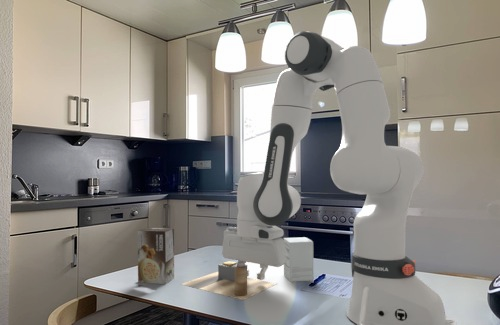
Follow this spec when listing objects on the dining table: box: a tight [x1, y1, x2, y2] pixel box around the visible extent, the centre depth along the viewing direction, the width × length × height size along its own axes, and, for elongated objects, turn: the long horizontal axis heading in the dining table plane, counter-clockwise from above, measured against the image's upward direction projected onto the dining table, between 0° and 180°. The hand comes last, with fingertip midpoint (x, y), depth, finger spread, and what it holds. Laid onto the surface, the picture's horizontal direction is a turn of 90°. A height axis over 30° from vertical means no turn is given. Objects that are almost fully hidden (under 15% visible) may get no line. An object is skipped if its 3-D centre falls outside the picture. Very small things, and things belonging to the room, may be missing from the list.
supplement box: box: [283, 236, 315, 283], centre depth 112 cm, size 7×7×13 cm
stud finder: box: [217, 260, 248, 282], centre depth 111 cm, size 7×5×4 cm
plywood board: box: [180, 271, 277, 301], centre depth 105 cm, size 22×16×1 cm
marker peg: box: [235, 261, 248, 296], centre depth 97 cm, size 3×3×8 cm
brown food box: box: [137, 227, 175, 287], centre depth 110 cm, size 9×6×16 cm
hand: (252, 277), depth 107 cm, fingers open, 4 cm apart
